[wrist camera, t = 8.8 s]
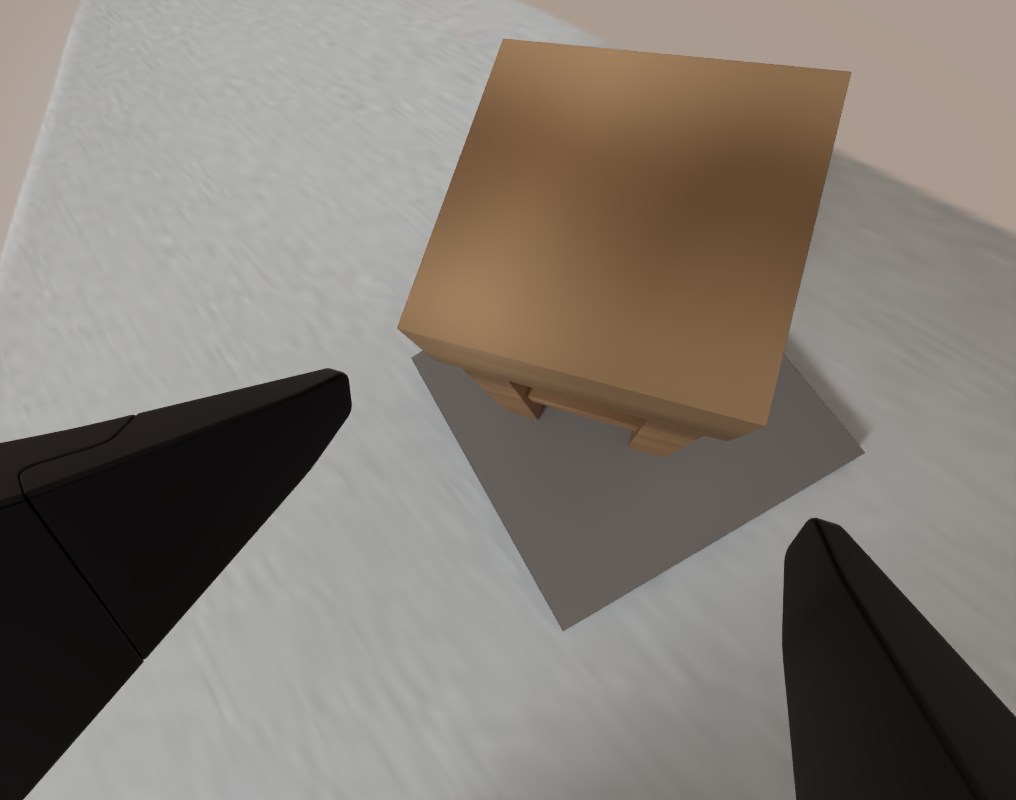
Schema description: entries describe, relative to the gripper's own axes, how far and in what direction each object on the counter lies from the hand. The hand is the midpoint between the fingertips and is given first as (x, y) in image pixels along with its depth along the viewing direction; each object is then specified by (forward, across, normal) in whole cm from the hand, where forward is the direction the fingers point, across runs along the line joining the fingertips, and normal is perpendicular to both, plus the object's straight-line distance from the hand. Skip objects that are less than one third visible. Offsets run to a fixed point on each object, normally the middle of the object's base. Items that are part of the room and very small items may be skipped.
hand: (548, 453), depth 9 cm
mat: (+8, -1, +3) cm, 8 cm away
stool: (+8, 0, +2) cm, 8 cm away
